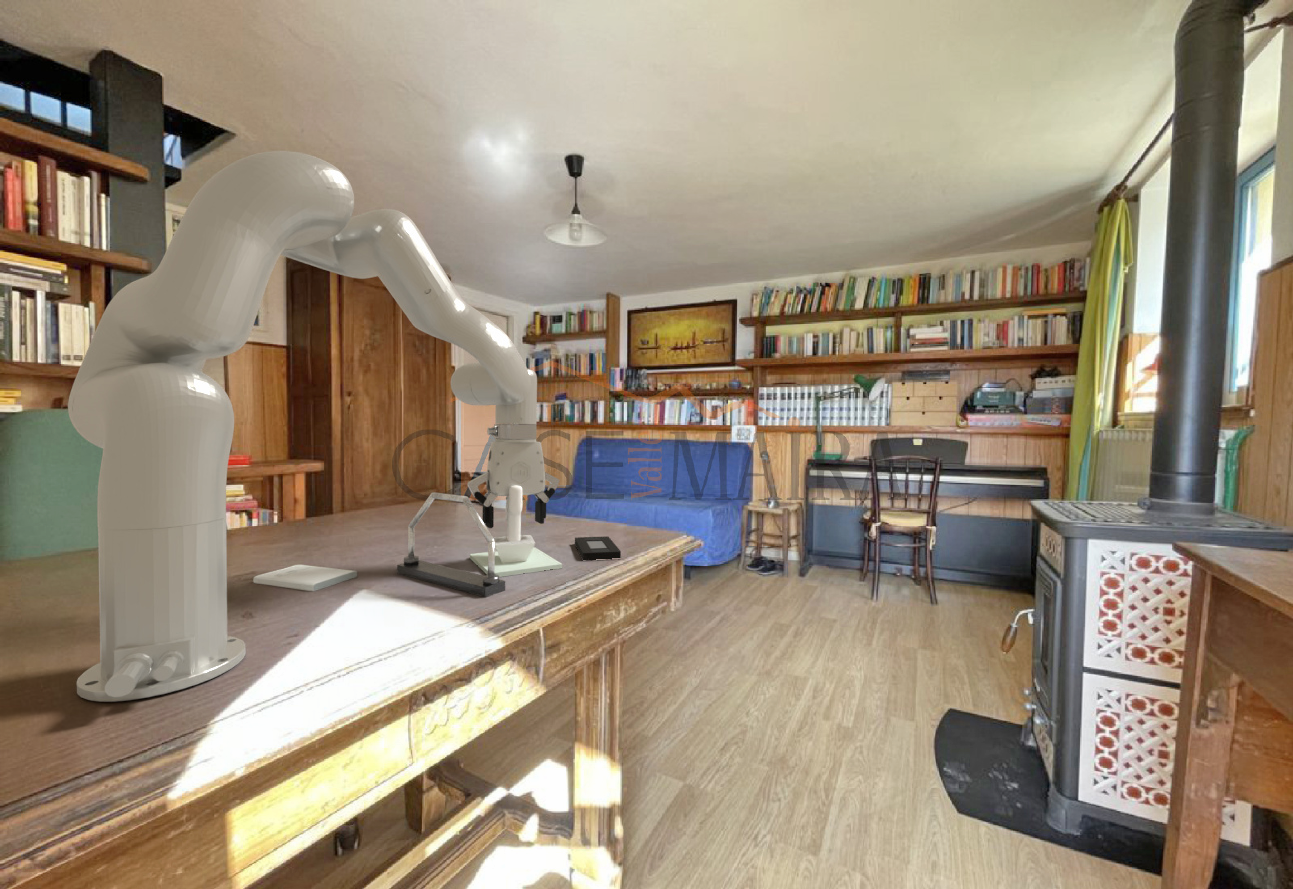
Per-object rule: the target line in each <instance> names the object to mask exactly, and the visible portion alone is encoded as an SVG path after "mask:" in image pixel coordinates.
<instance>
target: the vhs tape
mask: <svg viewBox="0 0 1293 889" xmlns="http://www.w3.org/2000/svg"><path fill="white" fill-rule="evenodd" d="M575 544H576V546H575V548H576V547H577V548H578V550H577V552H578V551H579V552H578V554H579V553H580V554H579V556H580V555H581V556H580V558H581V557H582V558H581V560H582V559H583V560H596V559H612V558H621V559H622V557H621V556H622V555H621V554H622V553H621V552H622V551H621V550H620V549H619V547H618V546H617V545H616V544H615V543H614V542H613V540H612V539H611V538H610V537H609V536H583V537H581V536H580V537H574V545H575ZM577 548H576V549H577ZM583 560H582V561H583Z"/></svg>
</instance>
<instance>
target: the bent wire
mask: <svg viewBox="0 0 1293 889" xmlns="http://www.w3.org/2000/svg"><path fill="white" fill-rule="evenodd" d="M435 499H436V500H443V501H450V502H451V501H452V502H457V503H463V504H464V506H465V507H466V509H467V510H468V512H469V514H470V515H471V517H472V519H473V521H474V522H475V524H476V526H477V527H478V529H479V531H480V532H481V534H482V535H483V537H484V538H485V540H486V541H487V552H488V575H487V574H486V575H485V574H483V575H482V574H478V573H474V572H471V571H466V570H462V569H457V568H453V567H448V566H446V565H440V564H437V563H433V562H428V561H423V560H420V557H419V556H418V555H415V536H416V535H415V533H416V532H415V527H416V526H417V525H418V523H419V522H420V521H421V518H423V516H424V515H425V513H426V512H427V510H428V509H429V508H430V506H431V505H432V503H433V502H434V501H435ZM407 528H408V529H407V531H408V532H407V533H408V534H407V536H408V537H407V539H408V540H407V542H408V543H407V544H408V545H407V548H408V549H407V556H405V557H403V563H399V564H397V565H396V573H397V574H398V575H402V576H406V577H409V578H413V579H417V580H420V581H424V582H428V583H432V584H435V585H439V586H443V587H446V588H450V589H453V590H457V591H461V592H463V593H464V592H465V593H467V594H472V595H475V596H476V595H477V596H479V597H483V598H487V597H490V596H493V595H495V594H499V593H501V592H504V591H506V580H504V579H500V577H499V575H496V574H495V551H496V548H495V540H494V538H493V537H494V536H493V535H492V534H491V532H490V530H489V528H488V527H486V525H485V523H484V522H483V520H482V517H481V516H480V514H479V512H478V511H477V510H476V508H475V506H474V505H473V502H472V501H471V500H470V498H469V497H468V496H466V495H460V494H459V495H457V494H449V493H442V492H441V493H440V492H431V493H430V495H429V496H428V497H427V499H426V500H425V501H424V503H423V504H422V506H421V507H420V509H419V510H418V511H417V513H416V514H415V516H414V517H413V519H412V520H411V521H410V523H409V524H408V527H407Z"/></svg>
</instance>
